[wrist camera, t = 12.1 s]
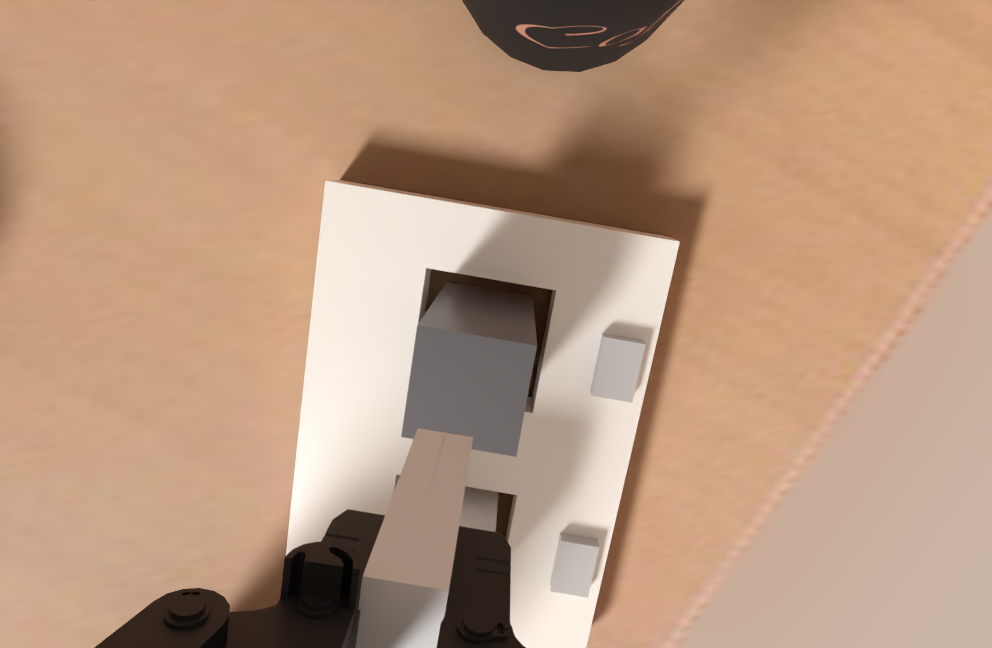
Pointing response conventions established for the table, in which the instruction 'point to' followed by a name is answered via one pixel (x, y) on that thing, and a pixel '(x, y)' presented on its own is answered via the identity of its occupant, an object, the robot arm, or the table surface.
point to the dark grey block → (473, 367)
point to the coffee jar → (569, 29)
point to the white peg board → (549, 412)
